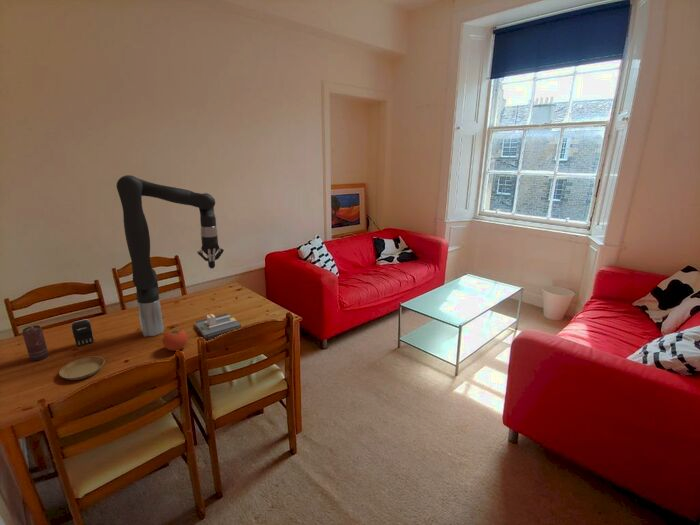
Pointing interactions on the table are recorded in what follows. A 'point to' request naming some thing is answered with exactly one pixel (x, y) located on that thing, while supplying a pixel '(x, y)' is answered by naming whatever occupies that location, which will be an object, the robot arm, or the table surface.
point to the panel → (217, 325)
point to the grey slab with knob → (220, 331)
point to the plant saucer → (82, 368)
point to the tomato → (175, 339)
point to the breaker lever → (211, 320)
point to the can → (35, 343)
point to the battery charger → (82, 332)
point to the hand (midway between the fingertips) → (211, 268)
